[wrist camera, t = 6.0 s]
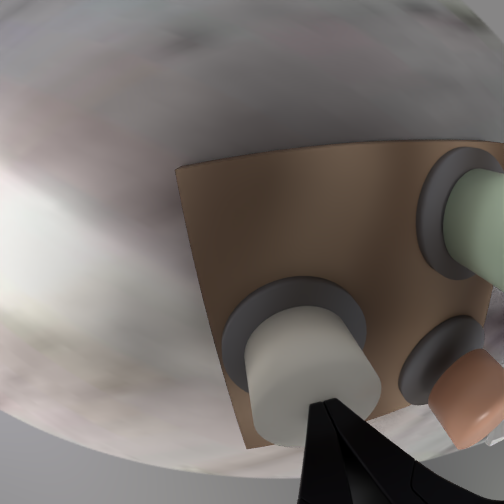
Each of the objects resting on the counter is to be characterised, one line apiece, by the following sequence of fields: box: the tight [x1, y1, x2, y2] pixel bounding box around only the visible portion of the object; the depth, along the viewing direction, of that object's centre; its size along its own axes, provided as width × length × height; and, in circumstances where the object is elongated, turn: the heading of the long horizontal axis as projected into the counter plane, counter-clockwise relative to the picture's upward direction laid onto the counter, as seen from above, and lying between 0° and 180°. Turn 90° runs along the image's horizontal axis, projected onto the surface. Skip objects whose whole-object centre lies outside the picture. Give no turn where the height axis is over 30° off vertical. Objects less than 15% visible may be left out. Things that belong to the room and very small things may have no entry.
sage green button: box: [443, 169, 504, 292], centre depth 8 cm, size 4×4×3 cm
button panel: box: [175, 140, 504, 449], centre depth 12 cm, size 14×14×2 cm
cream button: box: [244, 306, 381, 447], centre depth 10 cm, size 4×4×3 cm
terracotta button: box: [428, 349, 504, 449], centre depth 10 cm, size 4×4×3 cm
